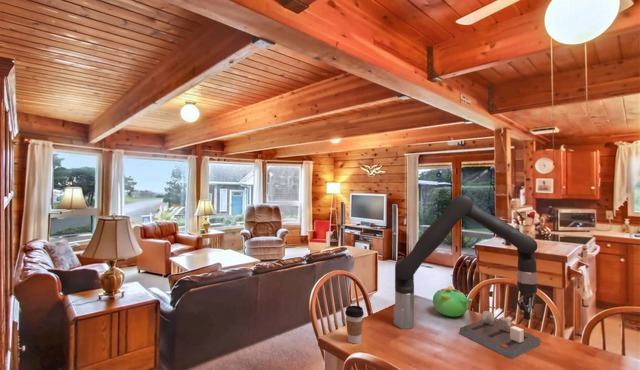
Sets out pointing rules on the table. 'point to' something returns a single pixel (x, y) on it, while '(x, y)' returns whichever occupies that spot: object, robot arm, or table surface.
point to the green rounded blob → (451, 302)
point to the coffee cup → (354, 323)
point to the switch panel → (498, 336)
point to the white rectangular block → (517, 334)
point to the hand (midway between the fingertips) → (527, 319)
